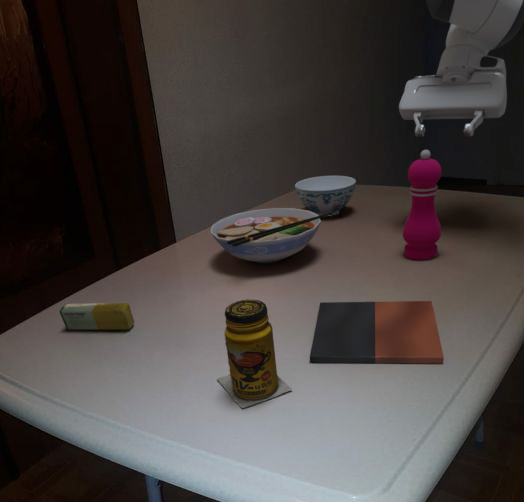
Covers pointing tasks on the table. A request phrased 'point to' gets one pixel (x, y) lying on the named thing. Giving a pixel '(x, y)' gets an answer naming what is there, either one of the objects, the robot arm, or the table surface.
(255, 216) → the ramen bowl
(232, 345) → the condiment
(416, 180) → the pepper mill
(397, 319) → the sorting board
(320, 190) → the chinaware
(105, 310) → the medication box
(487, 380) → the table surface
